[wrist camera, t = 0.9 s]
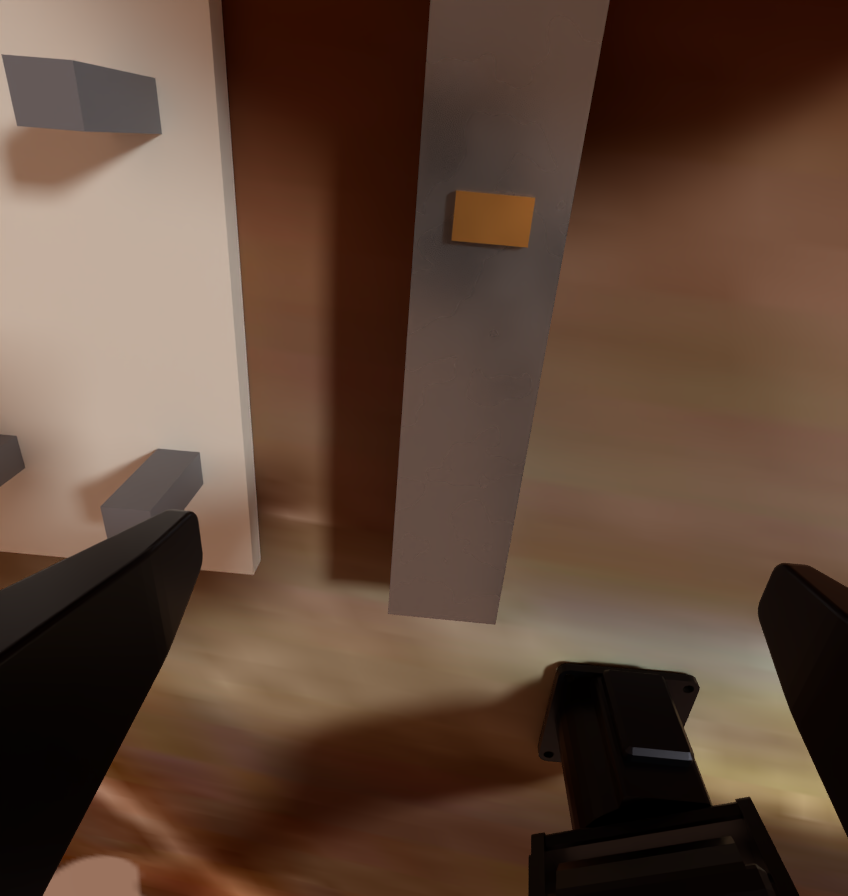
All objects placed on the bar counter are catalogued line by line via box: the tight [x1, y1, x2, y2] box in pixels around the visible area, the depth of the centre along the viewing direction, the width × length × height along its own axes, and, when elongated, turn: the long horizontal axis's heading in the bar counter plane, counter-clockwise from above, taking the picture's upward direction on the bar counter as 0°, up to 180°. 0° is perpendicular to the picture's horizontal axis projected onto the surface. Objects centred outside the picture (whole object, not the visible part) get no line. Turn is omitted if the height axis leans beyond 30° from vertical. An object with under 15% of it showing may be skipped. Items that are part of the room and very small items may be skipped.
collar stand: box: [0, 0, 261, 575], centre depth 18 cm, size 22×12×5 cm, turn 176°
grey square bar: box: [388, 0, 610, 624], centre depth 19 cm, size 20×4×4 cm, turn 175°
